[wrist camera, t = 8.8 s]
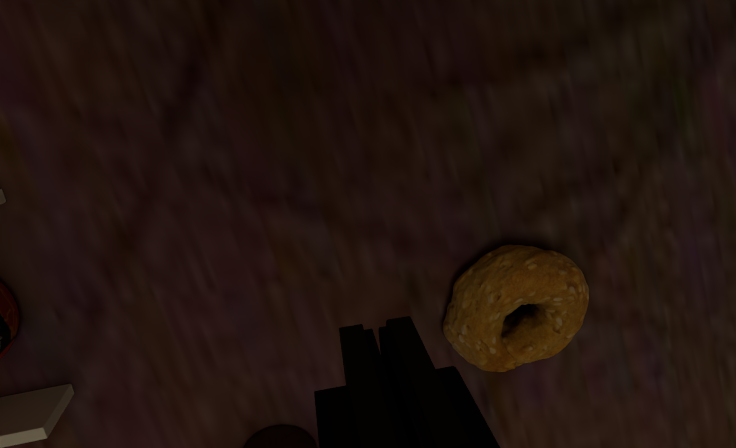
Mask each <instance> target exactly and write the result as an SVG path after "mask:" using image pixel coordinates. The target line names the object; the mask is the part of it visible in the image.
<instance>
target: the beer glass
mask: <svg viewBox="0 0 736 448" xmlns="http://www.w3.org/2000/svg"><path fill="white" fill-rule="evenodd" d="M243 448H317V445H316V443H315V441H314V439H313V438H312V437H311V436H310V435H309V434H308V433H307V432H305V431H304V430H302V429H300V428H297V427H293V426H286V425H281V426H273V427H270V428H266V429H264V430H262V431H260V432H258V433H257V434H255V435H254V436H253V437H251V438H250V439H249V440H248V442H247V443H246V444H245V446H244V447H243Z"/></svg>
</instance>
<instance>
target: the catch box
mask: <svg viewBox="0 0 736 448" xmlns="http://www.w3.org/2000/svg"><path fill="white" fill-rule="evenodd" d="M5 202H6V199H5V197H4V194H3V191H2V189H0V205H1V204H3V203H5ZM73 395H74V391H73V388H72V385H71V384H66V385H61V386H56V387H50V388H45V389H40V390H35V391H30V392H25V393H20V394H14V395H9V396H4V397H0V448H2V447H7V446H12V445H17V444H22V443H26V442H31V441H36V440H41V439H46V438H48V436H49V434H50V433H51V431H52V429H53V428H54V426H55V424H56V423H57V421H58V420H59V418H60V416H61V415H62V413H63V411H64V410H65V408H66V406H67V405H68V403H69V401H70V400H71V398H72V396H73Z"/></svg>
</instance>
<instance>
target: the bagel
mask: <svg viewBox="0 0 736 448" xmlns="http://www.w3.org/2000/svg"><path fill="white" fill-rule="evenodd" d="M588 292H589V289H588V286H587V284H586V281H585V278H584V275H583V273H582V272H581V270H580V269H579V268H578V267H577V265H576V264H575V263H574V262H573V261H572V260H571V259H569V258H567V257H566V256H564V255H562V254H560V253H558V252H556V251H552V250H547V251H545V250H542V249H539V248H537V247H534V246H523V245H505V246H501V247H499V248H498V249H496V250H494V251H491V252H489V253H487V254H485V255H484V256H482V257H481V258H480V259H479V260H478V261H477V262H476V263H475V264H473V265H472V266H471V267H469V269H468V270H466V271H465V272H464V273H463V274H462V275H461V276H460V277H459V278H458V279H457V280H456V282H455V283H454V286H453V296H452V299H451V302H450V303H449V305H448V307H447V314H446V317H445V319H444V322H443V332H444V335H445V337H446V338H447V340H448V341H449V342H450V343H451V344H452V347H453V348H454V349H455V350H456V351H457V352H458V353H459V354H460V355H461V356H463V357H464V358H465V359H466V360H467V361H468V362H469V363H471V364H473V365H476V366H477V367H478V368H480V369H482V370H484V371H493V372H494V371H497V372H505V371H508V370H510V369H514V368H515V366H520V365H522V364H523V363H530V362H533V361H536V360H539V359H546V358H548V357H551V356H554V355H555V354H557V353H558V352H560V351H561V350H562V349H563V348H564V347H565V346H566V345H567V344H568V343H569V342H570V341H571V340H572V338H573V336H574V335H575V334H576V332H578V331H579V329H580V328H581V326H582V323H583V320H584V316H585V313H586V310H587V306H588V302H589V294H588ZM526 304H531V306H530V307H528V308H527V309H524V310H519V311H516V312H514V313H512V312H513V311H514V310H515V309H517V308H518V307H519V306H520V305H526ZM510 313H512V314H510ZM509 314H510V315H509Z"/></svg>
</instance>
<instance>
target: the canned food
mask: <svg viewBox="0 0 736 448" xmlns="http://www.w3.org/2000/svg"><path fill="white" fill-rule="evenodd" d="M18 325H19V312H18V308H17V304H16V302H15V300H14V298H13V296H12V294H11V293H10V292H9V290H8V289H7V288H6V287H5V285H3V284H2V283H1V282H0V359H1V358H2V357H3V356H4V355H5V354H6V353H7V352H8V350H9V349H10V347H11V345H12V344H13V342H14V340H15V336H16V332H17V329H18Z"/></svg>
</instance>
